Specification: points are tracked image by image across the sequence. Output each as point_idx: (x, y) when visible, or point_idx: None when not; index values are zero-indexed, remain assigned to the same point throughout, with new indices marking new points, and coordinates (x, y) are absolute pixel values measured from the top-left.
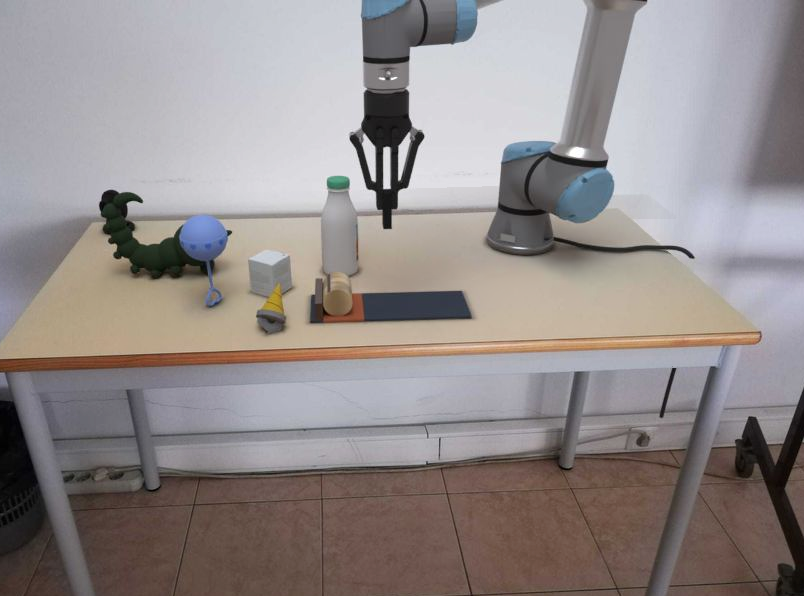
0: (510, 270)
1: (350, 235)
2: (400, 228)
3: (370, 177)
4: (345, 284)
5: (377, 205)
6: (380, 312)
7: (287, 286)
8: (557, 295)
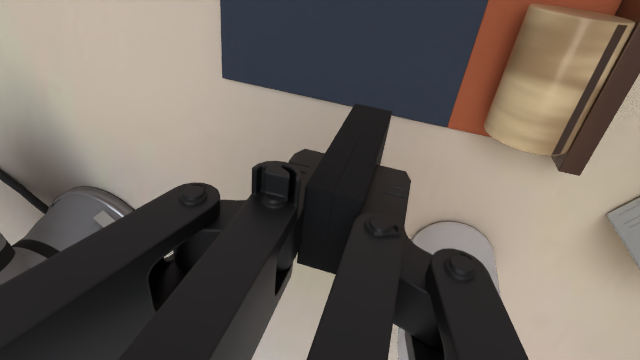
0: (128, 144)
1: None
2: (288, 348)
3: (452, 330)
4: (535, 72)
5: (404, 185)
6: (437, 5)
7: (632, 207)
8: (49, 14)
